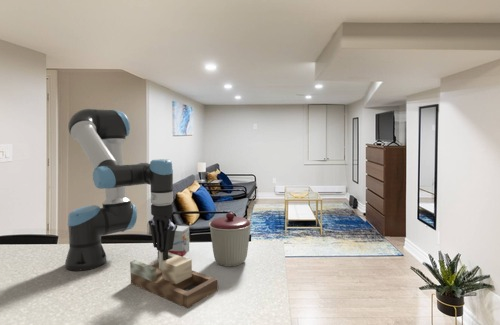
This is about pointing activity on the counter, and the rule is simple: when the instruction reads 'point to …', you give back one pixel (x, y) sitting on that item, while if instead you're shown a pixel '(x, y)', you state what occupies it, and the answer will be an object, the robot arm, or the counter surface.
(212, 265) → the counter surface
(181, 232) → the ink box
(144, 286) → the wooden compartment tray
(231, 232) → the canister
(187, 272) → the birch block
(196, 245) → the counter surface
